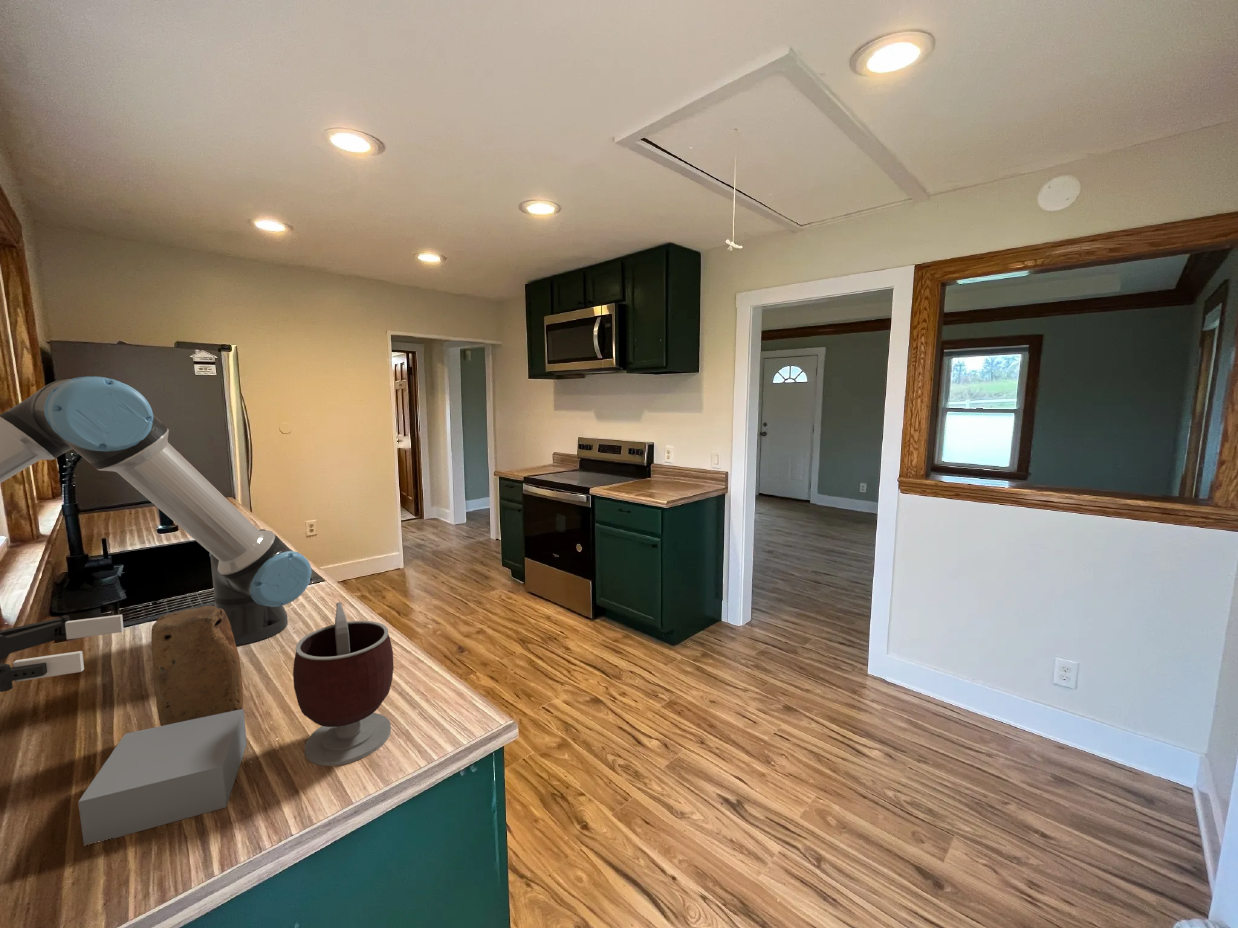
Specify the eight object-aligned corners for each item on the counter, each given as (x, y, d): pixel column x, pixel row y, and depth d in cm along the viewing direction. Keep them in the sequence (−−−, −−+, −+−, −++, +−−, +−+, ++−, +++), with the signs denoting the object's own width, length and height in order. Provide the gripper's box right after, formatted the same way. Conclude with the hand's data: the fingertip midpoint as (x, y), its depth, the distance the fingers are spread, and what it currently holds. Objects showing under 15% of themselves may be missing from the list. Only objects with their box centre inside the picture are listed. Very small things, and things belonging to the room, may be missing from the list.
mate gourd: (403, 748, 81) (398, 627, 78) (299, 782, 73) (289, 650, 71) (387, 699, 94) (383, 594, 91) (298, 724, 86) (290, 610, 84)
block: (159, 753, 79) (145, 629, 76) (162, 728, 85) (150, 612, 82) (246, 726, 85) (236, 611, 83) (243, 704, 91) (234, 596, 89)
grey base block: (129, 771, 75) (125, 733, 74) (246, 743, 81) (243, 708, 80) (84, 846, 62) (78, 801, 62) (226, 807, 69) (222, 765, 68)
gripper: (-43, 655, 80) (137, 631, 89) (-198, 754, 57) (63, 708, 67) (-49, 608, 79) (133, 589, 88) (-209, 691, 57) (57, 653, 66)
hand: (103, 640), depth 78 cm, fingers open, 13 cm apart
